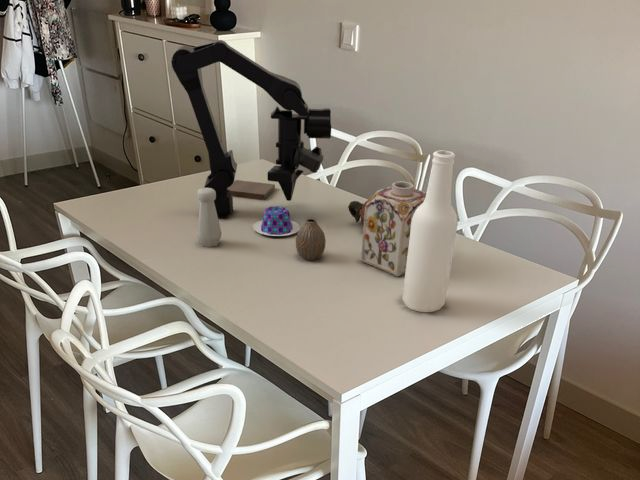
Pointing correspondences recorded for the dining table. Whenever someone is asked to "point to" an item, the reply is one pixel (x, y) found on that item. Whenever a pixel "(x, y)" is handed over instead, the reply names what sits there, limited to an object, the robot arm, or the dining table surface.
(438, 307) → the alcohol
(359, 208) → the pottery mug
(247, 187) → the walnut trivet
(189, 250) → the dining table surface
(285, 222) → the pudding
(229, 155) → the robot arm
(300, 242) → the vase
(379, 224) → the decorative jar
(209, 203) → the salt shaker
